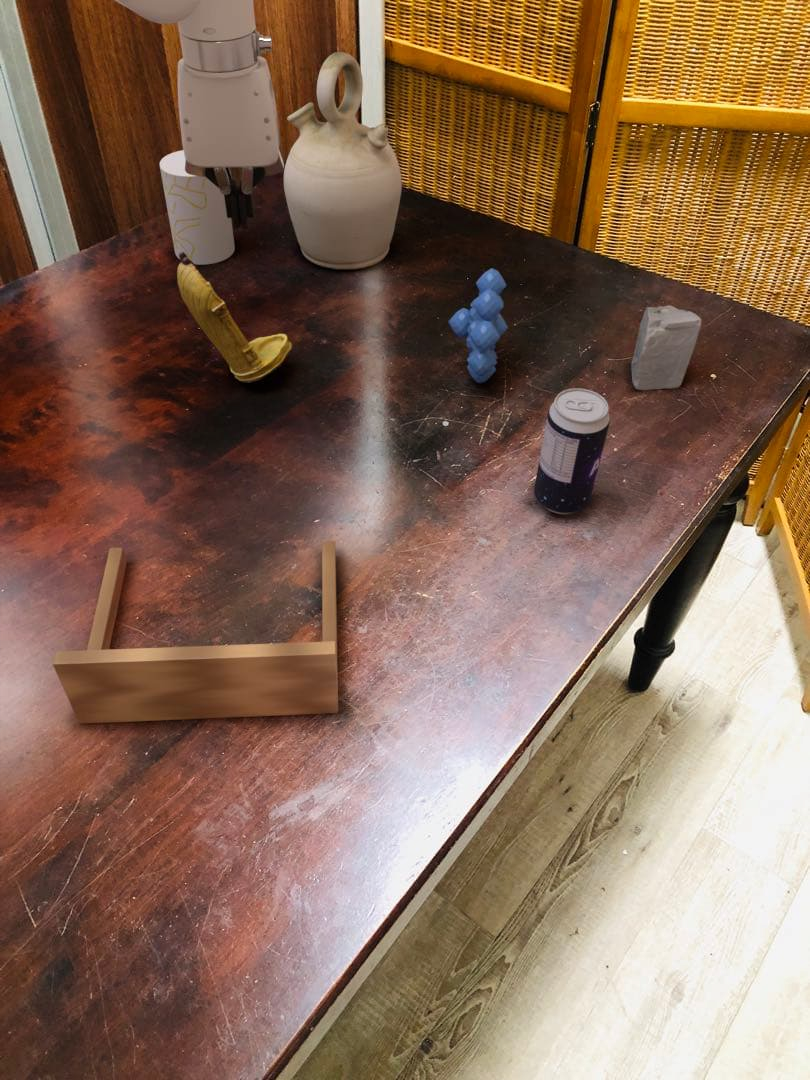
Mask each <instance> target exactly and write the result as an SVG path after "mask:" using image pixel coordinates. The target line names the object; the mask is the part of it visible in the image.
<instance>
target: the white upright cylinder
mask: <svg viewBox="0 0 810 1080" xmlns="http://www.w3.org/2000/svg"><path fill="white" fill-rule="evenodd" d="M185 162H186V158H185V155H184V150H183V149H182V150H177V151H173V152H171V153H168V154H167V155H165V156H164V157H162V158H161V160H160V161H159V169H160V175H161V181H162V186H163V193H164V198H165V204H166V209H167V215H168V221H169V226H170V227H169V228H170V233H171V237H172V238H171V239H172V243H173V250H174V254H175V256H176V257H177V258H178V259H179V260H180V258H179V253H181V252H182V251H183V252H184V253H185V254H186V255H187V257H188V259H190V260H191V261H192V262H193V263H194V265H200V266H201V265H211V264H218V263H220V262H223V261H225V260H227V259H229V258H230V257H231V256H232V255H233V254H234V253H235V249H236V245H235V239H234V230H233V229H234V228H233V220H232V218H227V213H226V206H225V198H224V194H222V193H221V192H220V189H219V188H218V187H217V186H216V185H214V184H213V183H212V182H211V181H210V180H208V179H207V178H206V177H200V176H195V175H191V174H188V173H186V171H185Z"/></svg>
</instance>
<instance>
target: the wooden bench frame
mask: <svg viewBox="0 0 810 1080" xmlns="http://www.w3.org/2000/svg"><path fill="white" fill-rule="evenodd" d="M321 547H322V548H321V555H322V556H321V574H322V575H321V580H322V581H321V594H322V595H321V616H322V617H321V621H322V622H321V628H322V629H321V630H322V631H321V634H322V635H321V638H322V639H321V641H304V642H301V641H300V642H276V643H275V642H274V643H250V644H249V643H246V644H224V645H223V644H222V645H221V644H219V645H194V646H193V645H192V646H170V647H169V646H166V647H165V646H164V647H139V648H137V647H135V648H114V649H113V648H111V643H112V638H113V634H114V629H115V624H116V620H117V619H116V618H117V614H118V608H119V605H120V604H119V603H120V599H121V593H122V589H123V584H124V579H125V573H126V569H127V564H128V561H127V556H126V554H125V550H124V547H110V548H109V549H108V555H107V559H106V563H105V566H104V567H105V568H104V572H103V577H102V580H101V585H100V589H99V594H98V599H97V603H96V608H95V612H94V616H93V621H92V624H91V630H90V634H89V637H88V638H89V639H88V644H87V648H86V649H83V650H82V649H81V650H80V649H79V650H57V651H55V654H54V657H53V662H52V666H53V668H54V670H55V673H56V675H57V677H58V679H59V682H60V684H61V686H62V688H63V691H64V693H65V695H66V697H67V700H68V702H69V705H70V707H71V708H72V711H73V713H74V715H75V718H76V720H77V722H78V724H79V725H84V724H104V723H105V724H106V723H108V724H109V723H128V722H129V723H131V722H133V723H134V722H148V721H149V722H154V721H177V720H178V721H179V720H181V721H182V720H201V719H203V720H204V719H205V720H206V719H225V718H226V719H227V718H228V719H229V718H246V717H247V718H250V717H274V716H299V715H320V714H321V715H324V714H338V713H339V674H338V673H339V671H338V668H339V667H338V665H339V664H338V610H337V607H338V605H337V601H338V600H337V553H336V552H337V551H336V550H337V549H336V541H322V542H321Z"/></svg>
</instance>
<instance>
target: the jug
mask: <svg viewBox="0 0 810 1080" xmlns="http://www.w3.org/2000/svg"><path fill="white" fill-rule="evenodd" d="M341 71H342V72H343V76H344V94H343V98H342V101H341V103H340V105H339V106H338V107H337V105H336V100H335V99H336V98H335V90H336V84H337V80H338V77H339V74H340V72H341ZM363 79H364V78H363V74H362V70H361V67H360V64H359V63H358V61H357V60H356V58H354V56H352V55H351V54H349V53H348V52H343V51H335V52H333V53H331V54H330V55H329V56H328V57H327V58H326V59H325V60H324V62H323V63H322V65H321V67H320V70H319V73H318V77H317V83H316V100H317V105H318V108H319V111H320V113H321V114H322V116H323V118H325V119H326V120H327V121H326V122H322V121H319V120H318V119H317V116H316V112H315V104H314V103H313V102H308V103H307V104H305V105H304V106H302V107H300V108H299V109H297V110H296V111H295V112H293V113H291V114H290V115H288V116H287V118H286V120H287V122H289V123H290V124H292V125H293V126H294V127H295V128H297V129H298V131H299V136H298V138H297V140H296V141H295V142H294V144H293V145H292V147H291V148H290V151H289V153H288V155H287V159H286V162H285V164H284V169H283V189H284V195H285V201H286V203H287V209H288V213H289V216H290V221H291V223H292V226H293V229H294V232H295V236H296V239H297V243H298V244H299V247H300V250H301V253H302V255H303V256H304V258H305V259H306V260H308V261H309V262H311V263H313V264H314V265H317V266H319V267H322V268H326V269H331V270H339V271H340V270H347V271H348V270H359V269H360V270H361V269H365V268H368V267H372V266H374V265H377V264H379V263H380V262H381V261H383V260H384V259H385V258H386V256H387V255H388V253H389V251H390V244H391V242H392V239H393V236H394V232H395V227H396V222H397V218H398V212H399V208H400V202H401V196H402V187H403V183H402V174H401V168H400V165H399V162H398V159H397V156H396V153H395V152H394V149H393V147H392V146H391V145H390V143H389V138H388V134H389V128H388V126H387V125H386V124H385V123H380V124H378V125H376V126H375V127H369V126H367V125H366V124H365V125H364V124H363V123H359V122H358V120H357V117H356V114H357V113H358V110H359V109H360V106H361V103H362V98H363V91H364V80H363Z"/></svg>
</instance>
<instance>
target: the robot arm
mask: <svg viewBox="0 0 810 1080" xmlns="http://www.w3.org/2000/svg"><path fill="white" fill-rule="evenodd" d="M113 1H114V2H115V3H117V4H119V5H121V6H124V7H125V8H127V9H129V10H130V11H132V12H133V13H135V14H137V15H138V16H140V17H141V18H143V19H145V20H147V21H149V22H151V23H156V24H160V25H172V24H177V29H178V34H179V42H180V47H181V55H182V58H181V59H179V60H178V62H177V103H178V117H179V124H180V135H181V143H182V150H184V155H185V158H186V162H185V171H186V173H188V174H191V175H195V176H200V177H206V178H207V179H208V180H210V181H211V182H212V183H213V184H214V185H216V186H217V187H218V188H219V189H220V192H221V193H222V194H224V198H225V206H226V213H227V218H231V219H232V227H233V229H235V230H237V229H238V230H239V229H240V228H243V229H249V224H250V218H251V219H252V218H253V219H254V218H255V205H254V199H253V190H254V189H255V188H256V186H258V185H259V184H260V182H261V181H262V180H263V179H264V178H265V177H270V176H274V175H278V174H282V173H284V170H285V164H284V160H283V156H282V154H281V151H280V145H281V137H280V125H279V118H278V109H277V104H276V97H275V90H274V85H273V81H272V77H271V72H270V68H269V65H268V61H267V59H266V58H265V57H263V56H262V54H265V53H266V52H273V42H272V36H271V35H264V34H261V33H260V31H258V30H257V25H256V19H255V18H256V17H255V6H254V0H113ZM230 168H232V169H233V168H241V179H240V181H239V185H238V184H237V182H236V181H235V180H234V178H233V175H232V172H231V171H232V170H231V169H230Z"/></svg>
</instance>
